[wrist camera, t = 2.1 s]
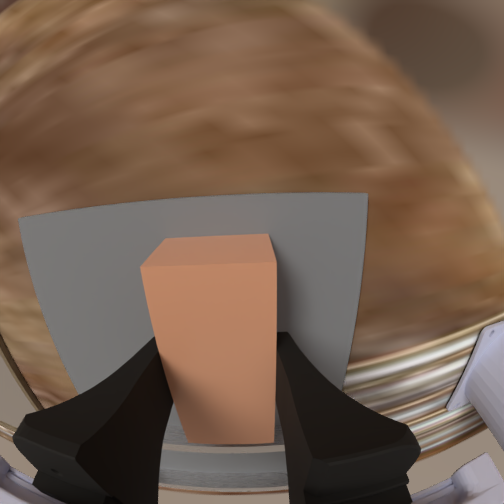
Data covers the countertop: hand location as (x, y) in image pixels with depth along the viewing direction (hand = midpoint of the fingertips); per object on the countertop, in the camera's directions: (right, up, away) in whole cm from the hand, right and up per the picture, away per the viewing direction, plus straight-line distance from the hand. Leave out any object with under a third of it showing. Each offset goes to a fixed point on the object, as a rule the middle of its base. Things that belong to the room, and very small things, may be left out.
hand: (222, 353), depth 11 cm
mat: (-2, -4, +3) cm, 6 cm away
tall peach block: (0, 0, +1) cm, 1 cm away
